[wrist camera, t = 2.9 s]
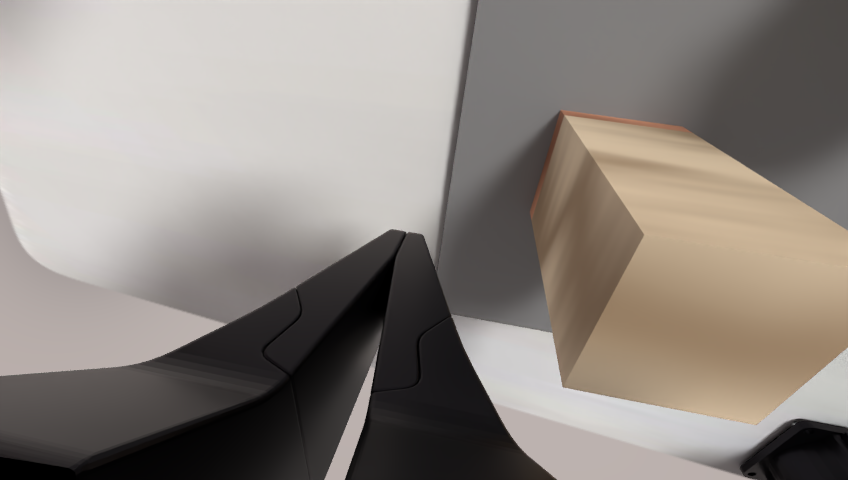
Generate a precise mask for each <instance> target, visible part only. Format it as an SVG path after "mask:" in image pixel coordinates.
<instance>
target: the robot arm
mask: <svg viewBox="0 0 848 480" xmlns="http://www.w3.org/2000/svg"><path fill="white" fill-rule="evenodd" d="M378 346H379V350H378V355H377V361H376V366H375V372H374V378H373V383H372V389H371V396H370V400H369V405H368V410H367V415H366V419H365V423H364V426H363V430H362V432H361V435H360V438H359V441H358V444H357V446H356V449H355V452H354V455H353V458H352V461H351V464H350V466H349V469H348V472H347V475H346V478H345V480H557V479H555V478H554V477H553V476H552V475H551V474H549V473H548V472H547V471H546V470H545V469H543V468H542V467H541V466H540V465H539V464H537V463H536V462H535V461H534V460H533V459H531V458H530V457H529V456H528V455H527V454H526V453H524V451H522V449H521V448H520V447H519V446H518V445H517V443H516V442H515V441H514V440H513V438H512V437H511V435H510V434H509V432H508V431H507V429H506V428H505V426H504V424H503V422H502V420H501V419H500V417H499V415H498V413H497V411H496V409H495V407H494V406H493V404H492V402H491V400H490V398H489V396H488V394H487V392H486V390H485V388H484V387H483V385H482V383H481V381H480V379H479V377H478V375H477V373H476V372H475V370H474V368H473V366H472V364H471V362H470V360H469V358H468V356H467V354H466V351H465V349H464V347H463V345H462V342H461V340H460V337H459V335H458V332H457V330H456V327H455V324H454V321H453V319H452V318H451V313H450V310H449V307H448V304H447V302H446V299H445V296H444V293H443V290H442V287H441V284H440V281H439V279H438V276H437V273H436V270H435V267H434V264H433V261H432V259H431V256H430V253H429V250H428V247H427V244H426V241H425V239H424V236H423V235H422V234H417V233H411V232H408V233H407V234H406V232H404V231H400V230H394V229H391V230H389V231H387V232H386V233H384V234H382V235H381V236H379V237H377V238H376V239H374V240H372V241H371V242H369V243H367V244H366V245H364V246H362V247H361V248H359V249H357V250H356V251H354V252H352V253H351V254H349V255H348V256H346V257H344V258H343V259H341V260H339V261H338V262H336V263H334V264H333V265H331V266H329V267H328V268H326V269H324V270H323V271H321V272H319V273H318V274H316V275H315V276H313V277H311V278H310V279H308V280H306V281H305V282H303V283H301V284H300V285H298V286H297V287H296V288H293V289H291V290H289V291H288V292H286V293H285V294H283V295H281V296H280V297H278V298H276V299H274V300H273V301H271V302H269V303H267V304H266V305H264V306H262V307H260V308H258V309H256V310H254V311H253V312H251V313H249V314H247V315H245V316H243V317H241V318H239V319H237V320H235V321H233V322H231V323H229V324H227V325H225V326H223V327H221V328H219V329H217V330H215V331H213V332H211V333H209V334H207V335H204V336H202V337H200V338H198V339H196V340H194V341H192V342H190V343H188V344H187V345H184V346H182V347H180V348H178V349H176V350H174V351H172V352H170V353H167V354H165V355H163V356H161V357H158V358H155V359H152V360H149V361H146V362H142V363H139V364H134V365H129V366H122V367H113V368H100V369H87V370H74V371H61V372H49V373H35V374H22V375H9V376H0V480H324V479H325V476H326V474H327V472H328V469H329V467H330V464H331V462H332V459H333V457H334V454H335V452H336V449H337V447H338V445H339V442H340V440H341V437H342V435H343V432H344V430H345V427H346V425H347V422H348V420H349V417H350V415H351V412H352V410H353V408H354V405H355V403H356V400H357V398H358V395H359V393H360V390H361V388H362V385H363V383H364V380H365V378H366V376H367V373H368V371H369V368H370V366H371V363H372V361H373V358H374V356H375V353H376V351H377V348H378ZM740 470H741V472H742V474H743V475H744V476H745V477H748V478H752V479H757V480H848V429H847V428H842V427H837V426H832V425H826V424H821V423H816V422H811V421H801V422H798V423H796V424H795V425H793V426H792V427H791V428H789V429H788V430H787V431H786V432H784V433H783V434H782V435H780V436H779V437H778V438H777V439H775V440H774V441H773V442H771V443H770V444H769V445H768V446H766V447H765V448H764V449H762V450H761V451H760V452H759V453H757V454H756V455H755V456H754V457H752V458H751V459H750V460H748V461H747V462H746V463H745V464H743V465H742V466H741V467H740Z"/></svg>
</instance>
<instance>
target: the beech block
mask: <svg viewBox="0 0 848 480" xmlns="http://www.w3.org/2000/svg"><path fill="white" fill-rule="evenodd" d="M530 215H531V221H532V226H533V231H534V237H535V242H536V247H537V253H538V258H539V263H540V269H541V274H542V279H543V285H544V290H545V295H546V301H547V306H548V311H549V316H550V322H551V327H552V332H553V338H554V343H555V348H556V354H557V359H558V364H559V370H560V375H561V380H562V386H563V387H564V388H569V389H574V390H580V391H585V392H590V393H595V394H600V395H605V396H610V397H615V398H620V399H625V400H631V401H636V402H641V403H646V404H651V405H656V406H661V407H666V408H671V409H677V410H682V411H687V412H692V413H697V414H702V415H707V416H712V417H717V418H723V419H728V420H733V421H738V422H743V423H748V424H753V425H757V424H758V423H759V422H761V421H762V420H763V419H764V418H765V417H766V416H768V415H769V414H770V413H771V412H772V411H773V410H775V409H776V408H777V407H778V406H779V405H780V404H782V403H783V402H784V401H785V400H786V399H788V398H789V397H790V396H791V395H792V394H793V393H795V392H796V391H797V390H798V389H799V388H800V387H802V386H803V385H804V384H805V383H806V382H807V381H809V380H810V379H811V378H812V377H813V376H814V375H816V374H817V373H818V372H819V371H820V370H822V369H823V368H824V367H825V366H826V365H827V364H829V363H830V362H831V361H832V360H833V359H834V358H836V357H837V356H838V355H839V354H840V353H841V352H843V351H844V350H845V349H846V348H847V347H848V230H846V229H845V228H843V227H841V226H840V225H838V224H837V223H835V222H833V221H832V220H830V219H829V218H827V217H825V216H824V215H822V214H821V213H819V212H818V211H816V210H814V209H813V208H811V207H810V206H808V205H806V204H805V203H803V202H802V201H800V200H798V199H797V198H795V197H794V196H792V195H791V194H789V193H787V192H786V191H784V190H783V189H781V188H779V187H778V186H776V185H775V184H773V183H771V182H770V181H768V180H767V179H765V178H764V177H762V176H760V175H759V174H757V173H756V172H754V171H752V170H751V169H749V168H748V167H746V166H744V165H743V164H741V163H740V162H738V161H737V160H735V159H733V158H732V157H730V156H729V155H727V154H725V153H724V152H722V151H721V150H719V149H717V148H716V147H714V146H713V145H711V144H710V143H708V142H706V141H705V140H703V139H702V138H700V137H698V136H697V135H695V134H694V133H692V132H690V131H689V130H687V129H686V128H684V127H682V126H675V125H667V124H660V123H653V122H645V121H638V120H631V119H624V118H616V117H609V116H602V115H594V114H587V113H580V112H573V111H565V110H561V111H560V114H559V117H558V120H557V124H556V127H555V130H554V134H553V137H552V140H551V144H550V147H549V150H548V153H547V157H546V160H545V163H544V167H543V170H542V173H541V176H540V180H539V183H538V186H537V190H536V193H535V196H534V200H533V203H532V206H531V209H530Z"/></svg>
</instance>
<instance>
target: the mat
mask: <svg viewBox="0 0 848 480" xmlns="http://www.w3.org/2000/svg"><path fill="white" fill-rule="evenodd" d="M561 110H565V111H573V112H580V113H587V114H594V115H602V116H609V117H616V118H624V119H631V120H638V121H645V122H653V123H660V124H667V125H675V126H682V127H684V128H686V129H687V130H689V131H690V132H692V133H694V134H695V135H697V136H698V137H700V138H702V139H703V140H705V141H706V142H708V143H710V144H711V145H713V146H714V147H716V148H717V149H719V150H721V151H722V152H724V153H725V154H727V155H729V156H730V157H732V158H733V159H735V160H737V161H738V162H740V163H741V164H743V165H744V166H746V167H748V168H749V169H751V170H752V171H754V172H756V173H757V174H759V175H760V176H762V177H764V178H765V179H767V180H768V181H770V182H771V183H773V184H775V185H776V186H778V187H779V188H781V189H783V190H784V191H786V192H787V193H789V194H791V195H792V196H794V197H795V198H797V199H798V200H800V201H802V202H803V203H805V204H806V205H808V206H810V207H811V208H813V209H814V210H816V211H818V212H819V213H821V214H822V215H824V216H825V217H827V218H829V219H830V220H832V221H833V222H835V223H837V224H838V225H840V226H841V227H843V228H845V229H846V230H848V0H478V5H477V12H476V19H475V25H474V32H473V38H472V45H471V52H470V58H469V65H468V71H467V78H466V85H465V91H464V98H463V104H462V111H461V118H460V124H459V131H458V137H457V144H456V151H455V157H454V164H453V170H452V177H451V184H450V190H449V197H448V203H447V210H446V217H445V223H444V230H443V236H442V243H441V250H440V256H439V263H438V269H437V276H438V279H439V281H440V284H441V287H442V290H443V293H444V296H445V299H446V302H447V304H448V307H449V310H450V313H451V314H454V315H460V316H465V317H470V318H476V319H481V320H487V321H492V322H498V323H503V324H508V325H514V326H519V327H525V328H530V329H535V330H541V331H546V332H552V327H551V322H550V316H549V311H548V306H547V301H546V295H545V290H544V285H543V279H542V274H541V269H540V263H539V258H538V253H537V247H536V242H535V237H534V231H533V226H532V221H531V215H530V209H531V206H532V203H533V200H534V196H535V193H536V190H537V186H538V183H539V180H540V176H541V173H542V170H543V167H544V163H545V160H546V157H547V153H548V150H549V147H550V144H551V140H552V137H553V134H554V130H555V127H556V124H557V120H558V117H559V114H560V111H561ZM552 333H553V332H552Z"/></svg>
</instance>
